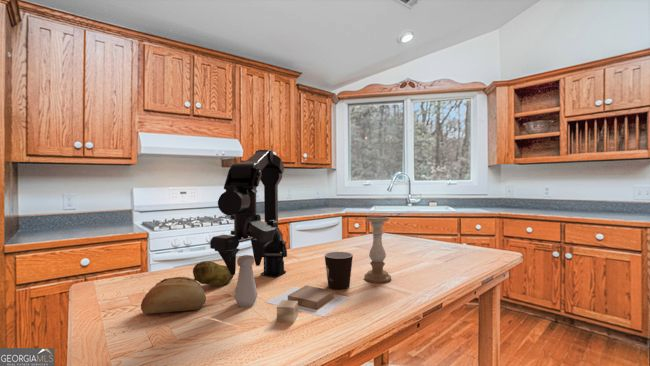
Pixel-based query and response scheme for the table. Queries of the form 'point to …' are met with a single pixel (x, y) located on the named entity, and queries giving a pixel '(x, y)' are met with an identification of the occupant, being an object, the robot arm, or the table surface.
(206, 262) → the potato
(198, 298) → the bread roll
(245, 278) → the salt shaker
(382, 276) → the candle holder
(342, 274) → the coffee mug
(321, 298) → the walnut base block
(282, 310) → the maple block
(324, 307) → the white flat rectangular panel
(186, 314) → the table surface
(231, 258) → the robot arm
